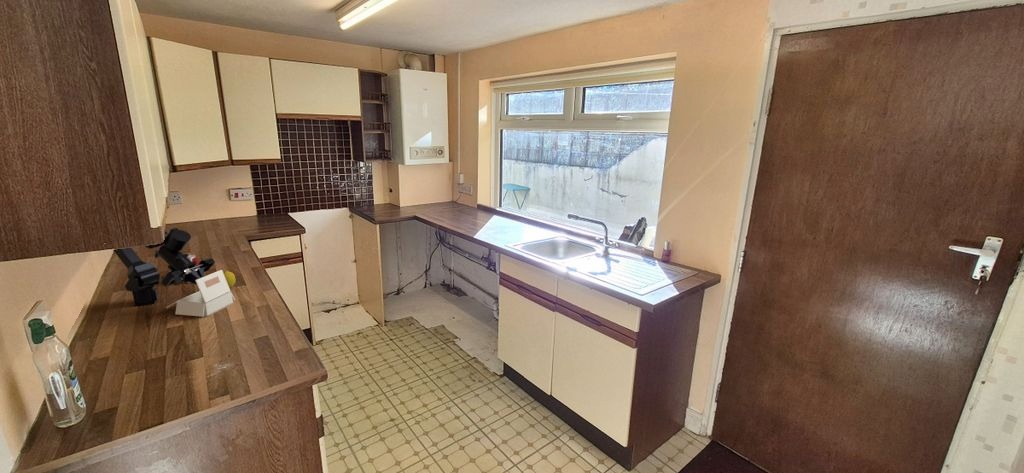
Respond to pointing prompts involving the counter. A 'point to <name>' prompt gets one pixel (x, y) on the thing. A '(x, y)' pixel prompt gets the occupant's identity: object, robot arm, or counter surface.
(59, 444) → the counter surface
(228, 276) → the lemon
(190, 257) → the soda can
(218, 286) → the carton flap
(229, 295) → the carton
